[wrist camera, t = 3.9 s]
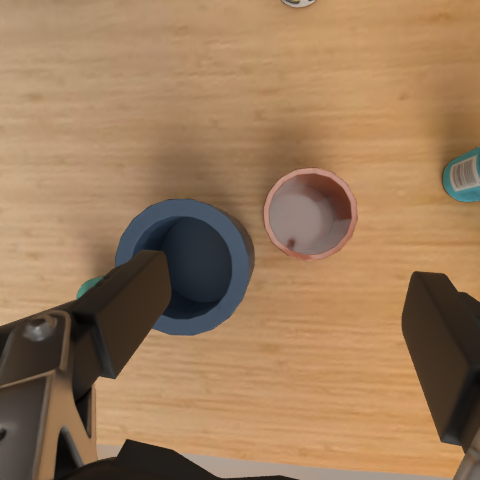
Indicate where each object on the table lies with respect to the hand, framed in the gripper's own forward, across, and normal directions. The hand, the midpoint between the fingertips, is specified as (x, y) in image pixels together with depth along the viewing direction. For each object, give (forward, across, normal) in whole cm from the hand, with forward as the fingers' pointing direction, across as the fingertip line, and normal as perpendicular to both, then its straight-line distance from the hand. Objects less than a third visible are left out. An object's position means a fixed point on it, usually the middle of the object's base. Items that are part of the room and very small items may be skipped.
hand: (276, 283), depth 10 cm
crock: (+23, 0, +7) cm, 24 cm away
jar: (+20, +10, +11) cm, 25 cm away
